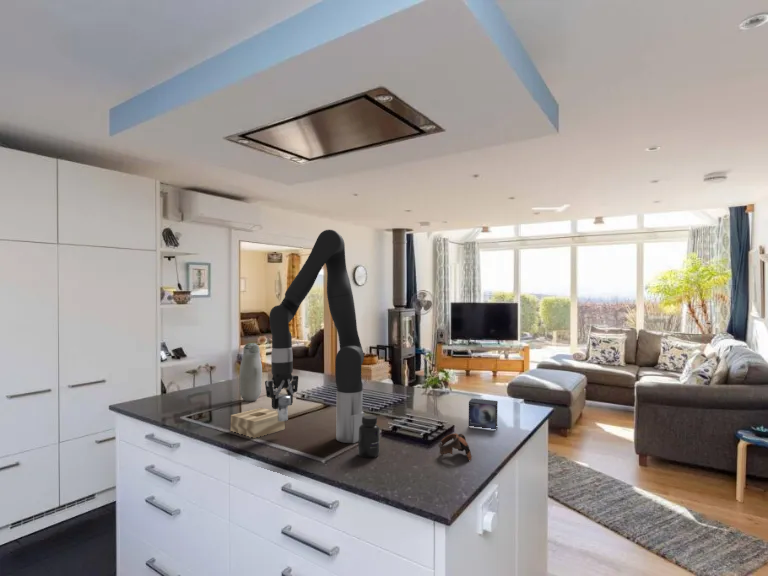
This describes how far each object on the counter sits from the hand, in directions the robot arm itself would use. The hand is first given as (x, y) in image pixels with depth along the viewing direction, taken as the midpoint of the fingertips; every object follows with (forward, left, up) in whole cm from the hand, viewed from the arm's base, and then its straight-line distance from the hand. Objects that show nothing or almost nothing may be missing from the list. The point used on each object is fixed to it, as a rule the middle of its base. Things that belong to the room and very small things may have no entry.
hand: (282, 406), depth 156 cm
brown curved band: (-59, -21, -11) cm, 63 cm away
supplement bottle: (-36, -5, -11) cm, 38 cm away
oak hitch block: (+13, 0, -11) cm, 17 cm away
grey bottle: (+54, -28, -11) cm, 62 cm away
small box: (-54, -55, -11) cm, 78 cm away
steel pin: (0, 0, -5) cm, 5 cm away
